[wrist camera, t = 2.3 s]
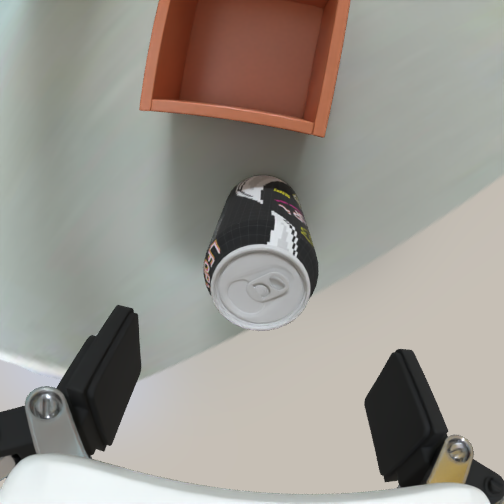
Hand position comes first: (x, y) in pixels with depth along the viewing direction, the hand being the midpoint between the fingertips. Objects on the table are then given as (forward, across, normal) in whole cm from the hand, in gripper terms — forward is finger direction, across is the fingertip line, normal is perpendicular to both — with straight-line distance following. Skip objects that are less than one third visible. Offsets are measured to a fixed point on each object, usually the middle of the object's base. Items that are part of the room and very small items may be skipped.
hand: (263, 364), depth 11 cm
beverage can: (+16, 0, 0) cm, 16 cm away
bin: (+16, +3, -12) cm, 21 cm away
